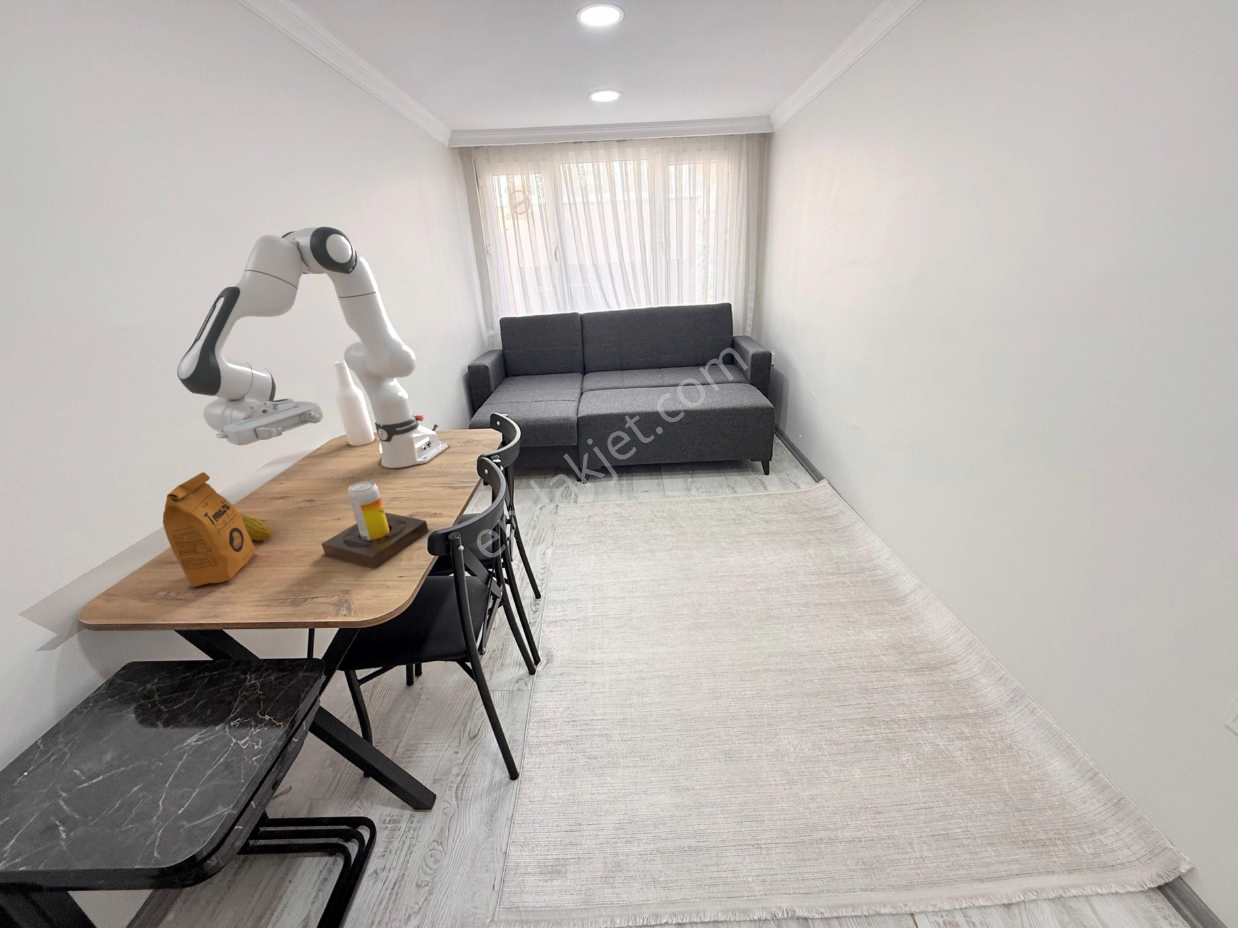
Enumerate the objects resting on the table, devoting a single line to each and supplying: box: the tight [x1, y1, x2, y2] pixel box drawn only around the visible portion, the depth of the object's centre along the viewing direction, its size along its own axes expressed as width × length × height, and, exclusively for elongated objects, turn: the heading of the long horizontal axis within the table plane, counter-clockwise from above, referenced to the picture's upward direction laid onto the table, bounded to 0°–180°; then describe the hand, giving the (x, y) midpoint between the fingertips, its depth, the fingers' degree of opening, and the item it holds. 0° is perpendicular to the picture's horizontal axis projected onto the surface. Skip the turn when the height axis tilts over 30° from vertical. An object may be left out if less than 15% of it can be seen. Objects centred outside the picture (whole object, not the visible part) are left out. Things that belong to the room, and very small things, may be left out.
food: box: [239, 512, 272, 542], centre depth 122 cm, size 21×6×6 cm, turn 69°
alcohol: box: [333, 360, 376, 447], centre depth 177 cm, size 9×9×30 cm
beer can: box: [347, 480, 390, 540], centre depth 113 cm, size 6×6×15 cm
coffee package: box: [162, 471, 256, 588], centre depth 104 cm, size 10×12×22 cm
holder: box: [321, 512, 429, 569], centre depth 116 cm, size 16×16×3 cm
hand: (298, 425), depth 111 cm, fingers open, 8 cm apart
